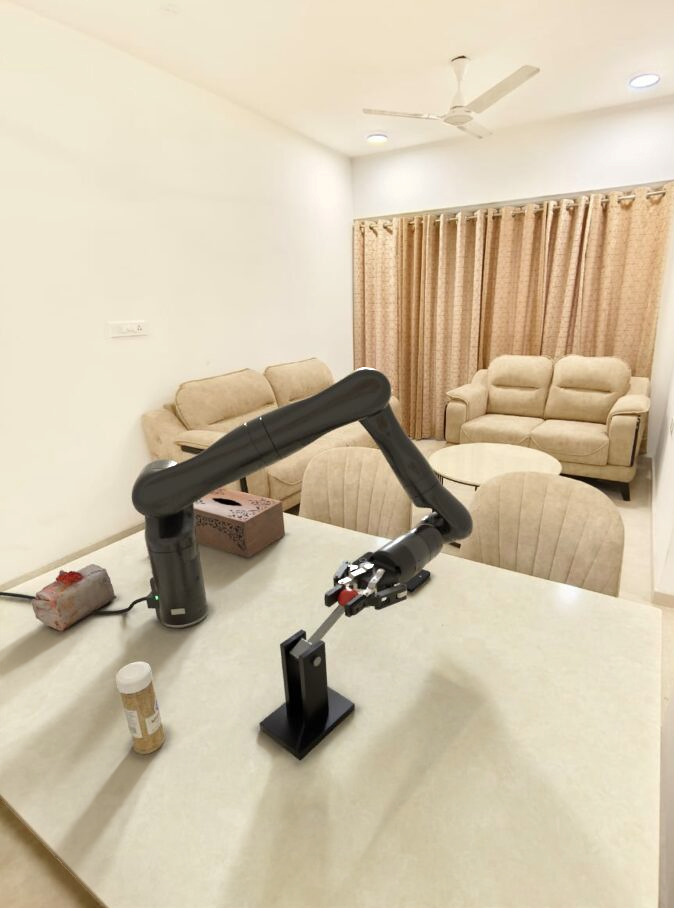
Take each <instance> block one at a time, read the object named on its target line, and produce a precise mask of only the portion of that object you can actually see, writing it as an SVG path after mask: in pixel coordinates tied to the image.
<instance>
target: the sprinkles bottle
mask: <svg viewBox="0 0 674 908" xmlns="http://www.w3.org/2000/svg"><path fill="white" fill-rule="evenodd" d="M153 678H154V677H153V672H152V667H151V665H150V664H149V663H147V662H145V661H134V662H131V663H128V664H126V665H125V666H123V667H121V668H120V670H118V671H117V672H116V675H115V683H116V688H117V690H118V692H119V694H120V697H121V701H122V707H123V711H124V714H125V719H126V723H127V726H128V730H129V734H130V735H131V738H132V742H133V744H132V747H133V750H134V751H135V752H136V753H138V754H141V755H146V754H151V753H153V752H155V751H157V750H158V749H160V747H161V746H162V745H163V744H164V743H165V740H166V732H165V730H164V727H163V722H162V715H161V712H160V707H159V702H158V698H157V695H156V691H155V687H154V682H153Z"/></svg>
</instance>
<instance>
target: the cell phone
mask: <svg viewBox="0 0 674 908" xmlns="http://www.w3.org/2000/svg"><path fill="white" fill-rule="evenodd" d="M373 553H374V552H373V551H367V552H365V553H364V554H363V555H361V556H360V557H359V558H357V559H356V560H354V561H353V562H351V563H350V565H355V566H358V565H359V564H361V563H365V562H367V561H368V560H369V558H370V557H371V555H372V554H373ZM430 577H431V571H428V570H426V569H424V568H423V569H422V570H421V571H420V572H419V573H417V574H416V575H415V576H414V577H412V578H411V579H410V580H409V581H407V582H406V583H405V584H406V585H407V592H409V593H413V592H415V591H416V590H417V589H418V588H419V587H421V586H422V585H423V584H424V583H425V582H426V581H427V580H428V579H429V578H430Z"/></svg>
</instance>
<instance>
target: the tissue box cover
mask: <svg viewBox="0 0 674 908" xmlns="http://www.w3.org/2000/svg"><path fill="white" fill-rule="evenodd" d="M193 504H194V511H195V523H196V536H197V542H198V544H203V545H206V546H209V547H212V548H215V549H217V550H222V551H225V552H228V553H231V554H235V555H238V556H240V557H244V558H247V559H249V558H251V557H253V556H254V555H256V554H257V553H259V552H260V551H262V550H263V549H265V548H266V547H268V546H270V545H271V544H273V543H274V542H276V541H277V540H279V539H280V538H282V537H283V536H285V535H286V531H285V520H284V519H285V518H284V508H283V501H282V500H278V499H274V498H270V497H266V496H261V495H257V494H253V493H248V492H244V491H240V490H236V489H231V488H227V487H225V486H223V487H221V488H219V489H217V490H215V491H213V492H211V493H209V494H207V495H206V496H204V497H202V498H201V499H199V500H198V501H196V502H194V503H193Z"/></svg>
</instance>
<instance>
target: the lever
mask: <svg viewBox="0 0 674 908" xmlns="http://www.w3.org/2000/svg"><path fill="white" fill-rule="evenodd" d="M359 594H360V593H359V592H357V591H356V590H354V589H350V588H349V589H345V590H343V591H342V592H341V593H340V594H339V596H338V602H337V604H338V605H337V606H336V608H335V609H334V610H333V611H332V612H331V613H330V614H329V615H328V616H327V618H326V619H325V620H324V621H323V623H322V624H321V625H320V626H319V627H318V628H317V629H316V630H315V631H314V633H312V634H311V636H310V637H309V638H308V639H307V641H306V640H304V639H301V640H300V641H299V642H298V643H297V644H296V646H295V647H294V648H293V649H292V650H291V651H290V655H291V656H292V658H293V660H294V662H296V663H297V664H299V655H300V654H302V653H303V652H304V651H306V650H307V649H309V648H310V647H311V646H313V645H314V644H315V643H317V642H318V641H319V640H321V641H322V639H323V638H324V637H325V636H326V634H327V633H328V632H329V631H330V630H331V629H332V628H333V626H334V625H335V624H336V623H337V621H338V620H339V619H340V618H341V617H342V616H343V615H344V614H345V605H346V604H347V603H348V602H349V601H351V600H352V599H353V598H355V597H356V596H357V595H359Z"/></svg>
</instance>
